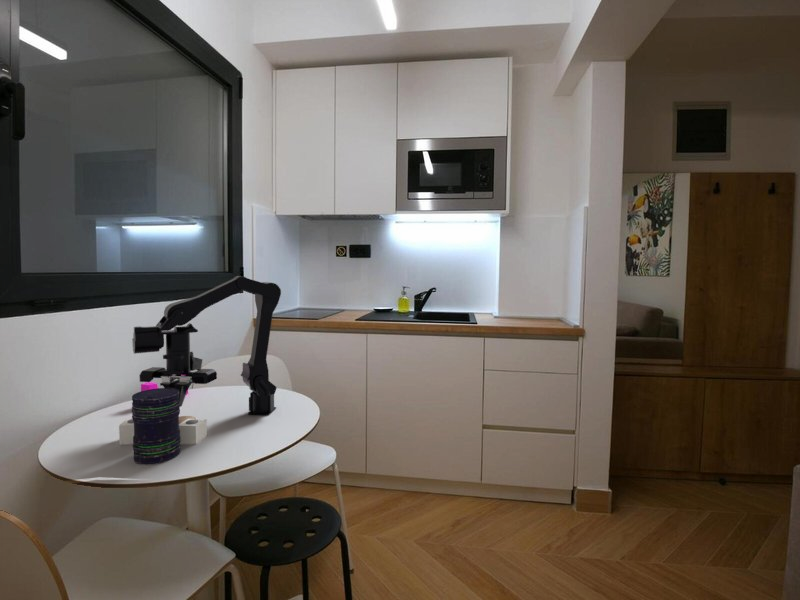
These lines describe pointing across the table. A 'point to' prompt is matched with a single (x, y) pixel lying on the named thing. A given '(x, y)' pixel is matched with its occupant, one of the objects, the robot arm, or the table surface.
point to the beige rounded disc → (185, 418)
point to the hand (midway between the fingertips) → (179, 406)
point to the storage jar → (156, 425)
